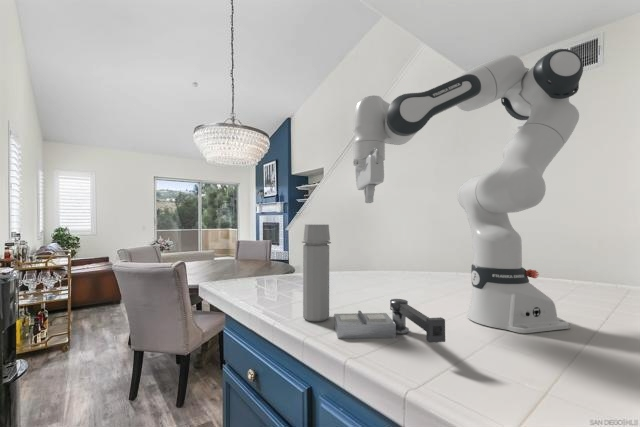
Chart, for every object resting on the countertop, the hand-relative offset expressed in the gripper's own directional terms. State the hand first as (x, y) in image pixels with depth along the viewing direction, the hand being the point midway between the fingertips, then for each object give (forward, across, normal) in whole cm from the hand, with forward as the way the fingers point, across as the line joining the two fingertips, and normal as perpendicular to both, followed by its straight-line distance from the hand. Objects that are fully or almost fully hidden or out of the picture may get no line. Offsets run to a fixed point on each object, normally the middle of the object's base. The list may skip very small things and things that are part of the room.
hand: (369, 202), depth 86 cm
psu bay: (+31, -14, +4) cm, 34 cm away
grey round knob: (+31, -14, -4) cm, 34 cm away
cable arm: (+27, -21, -5) cm, 35 cm away
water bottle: (+31, -3, +15) cm, 35 cm away
